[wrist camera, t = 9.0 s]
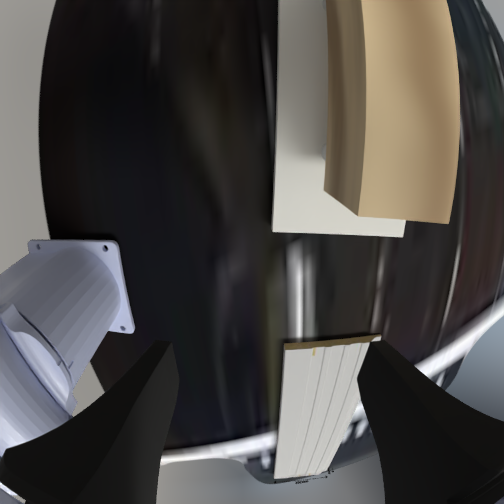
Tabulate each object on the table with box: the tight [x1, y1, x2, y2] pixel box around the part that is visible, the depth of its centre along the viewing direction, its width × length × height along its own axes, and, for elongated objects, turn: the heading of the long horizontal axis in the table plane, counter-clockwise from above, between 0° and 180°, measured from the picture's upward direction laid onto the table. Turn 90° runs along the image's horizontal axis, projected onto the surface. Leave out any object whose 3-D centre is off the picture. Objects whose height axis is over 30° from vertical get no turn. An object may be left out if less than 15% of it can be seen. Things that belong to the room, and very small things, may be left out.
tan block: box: [323, 0, 460, 224], centre depth 9 cm, size 4×14×5 cm, turn 179°
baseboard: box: [274, 334, 381, 484], centre depth 27 cm, size 30×3×10 cm
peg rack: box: [271, 0, 406, 237], centre depth 13 cm, size 9×20×3 cm, turn 178°
